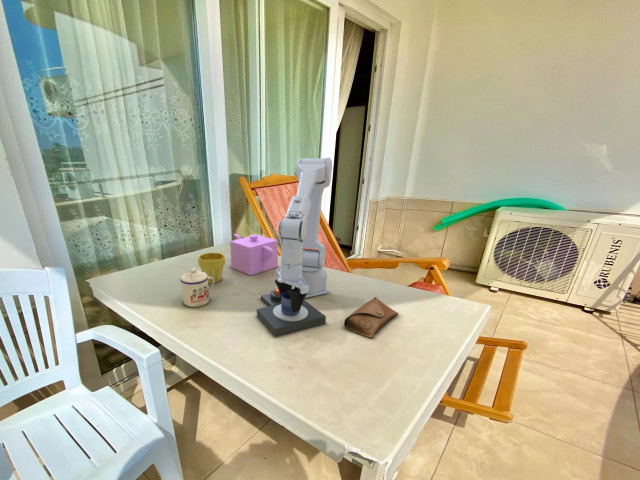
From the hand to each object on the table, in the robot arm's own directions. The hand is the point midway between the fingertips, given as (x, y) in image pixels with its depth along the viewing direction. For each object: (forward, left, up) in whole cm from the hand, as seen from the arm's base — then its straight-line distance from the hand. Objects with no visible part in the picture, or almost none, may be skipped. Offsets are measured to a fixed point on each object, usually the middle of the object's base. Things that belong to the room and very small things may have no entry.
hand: (290, 306), depth 87 cm
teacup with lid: (+21, -24, -5) cm, 32 cm away
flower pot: (+12, -39, -5) cm, 41 cm away
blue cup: (0, 0, -1) cm, 1 cm away
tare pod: (-3, -12, -4) cm, 13 cm away
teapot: (-8, -46, -5) cm, 47 cm away
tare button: (-3, -12, -2) cm, 13 cm away
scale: (0, 0, -4) cm, 4 cm away
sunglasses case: (-21, +10, -5) cm, 24 cm away
